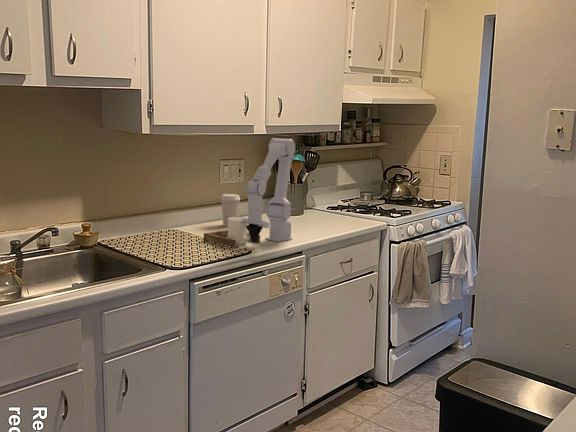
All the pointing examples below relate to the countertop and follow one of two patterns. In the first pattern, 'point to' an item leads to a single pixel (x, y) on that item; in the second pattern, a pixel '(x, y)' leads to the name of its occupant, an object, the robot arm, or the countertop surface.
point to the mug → (238, 230)
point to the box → (222, 238)
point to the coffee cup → (229, 207)
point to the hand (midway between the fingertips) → (254, 242)
